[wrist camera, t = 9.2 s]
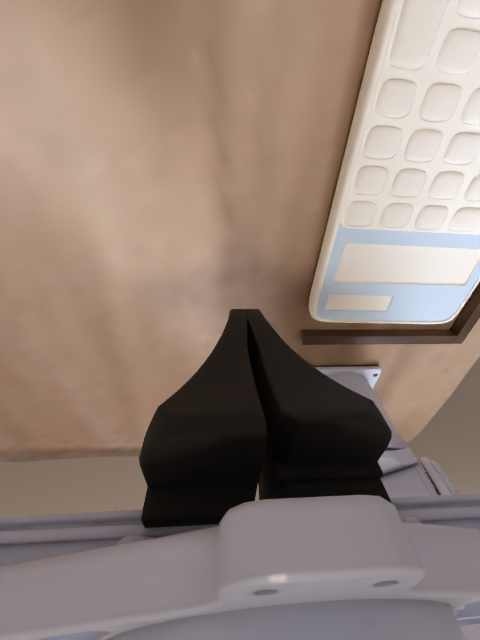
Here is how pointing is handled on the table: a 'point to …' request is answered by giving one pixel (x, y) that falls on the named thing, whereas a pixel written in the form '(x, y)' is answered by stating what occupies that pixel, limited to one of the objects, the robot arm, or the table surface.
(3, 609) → the robot arm
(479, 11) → the calculator
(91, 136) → the table surface
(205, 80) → the table surface
